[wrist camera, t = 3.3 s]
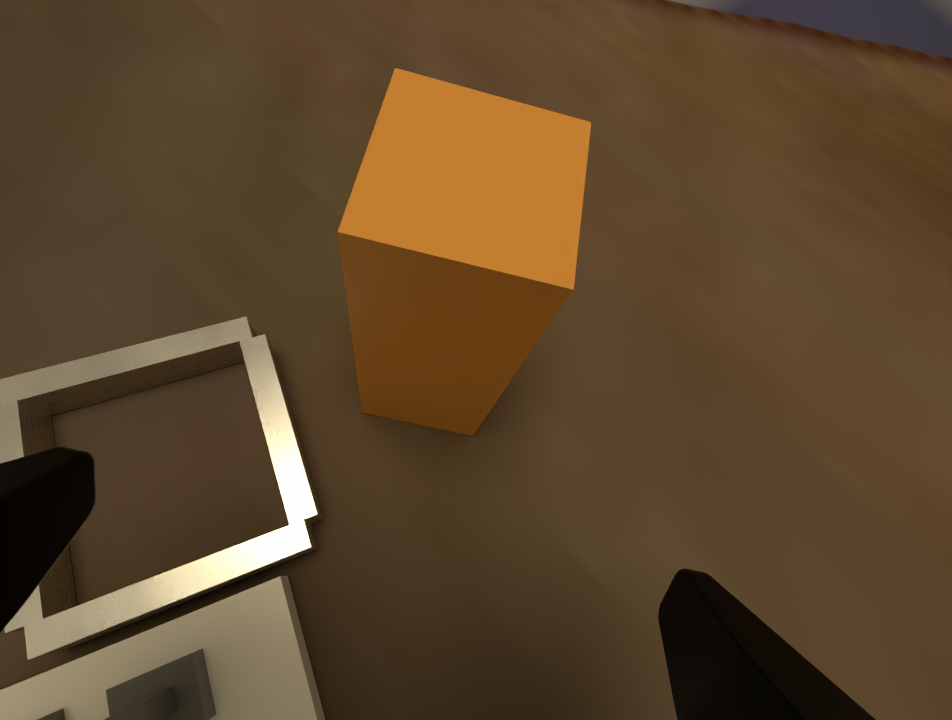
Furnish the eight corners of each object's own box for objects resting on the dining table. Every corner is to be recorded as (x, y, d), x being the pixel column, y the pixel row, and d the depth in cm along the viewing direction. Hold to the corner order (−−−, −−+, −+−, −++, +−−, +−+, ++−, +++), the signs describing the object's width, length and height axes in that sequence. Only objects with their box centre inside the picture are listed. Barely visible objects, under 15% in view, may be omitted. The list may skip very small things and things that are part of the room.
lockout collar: (330, 543, 20) (325, 541, 18) (48, 656, 17) (8, 667, 15) (269, 333, 23) (259, 313, 21) (18, 401, 20) (-19, 384, 18)
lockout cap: (472, 436, 22) (573, 289, 11) (362, 412, 22) (338, 231, 10) (489, 338, 24) (591, 122, 13) (389, 314, 24) (395, 67, 12)
